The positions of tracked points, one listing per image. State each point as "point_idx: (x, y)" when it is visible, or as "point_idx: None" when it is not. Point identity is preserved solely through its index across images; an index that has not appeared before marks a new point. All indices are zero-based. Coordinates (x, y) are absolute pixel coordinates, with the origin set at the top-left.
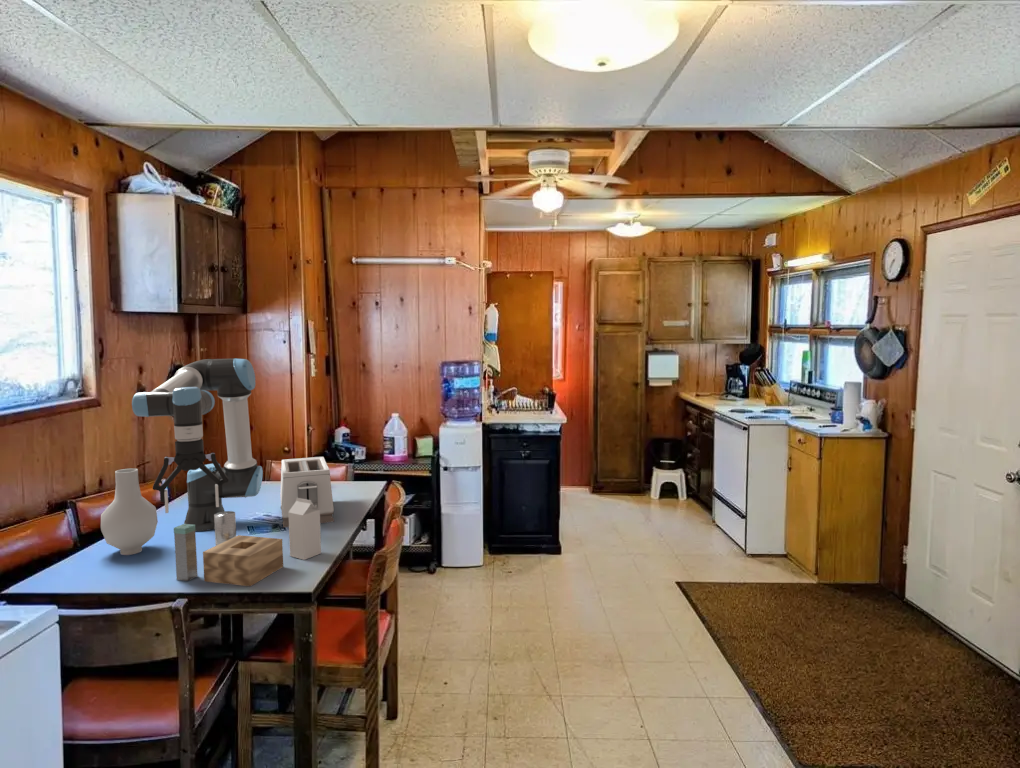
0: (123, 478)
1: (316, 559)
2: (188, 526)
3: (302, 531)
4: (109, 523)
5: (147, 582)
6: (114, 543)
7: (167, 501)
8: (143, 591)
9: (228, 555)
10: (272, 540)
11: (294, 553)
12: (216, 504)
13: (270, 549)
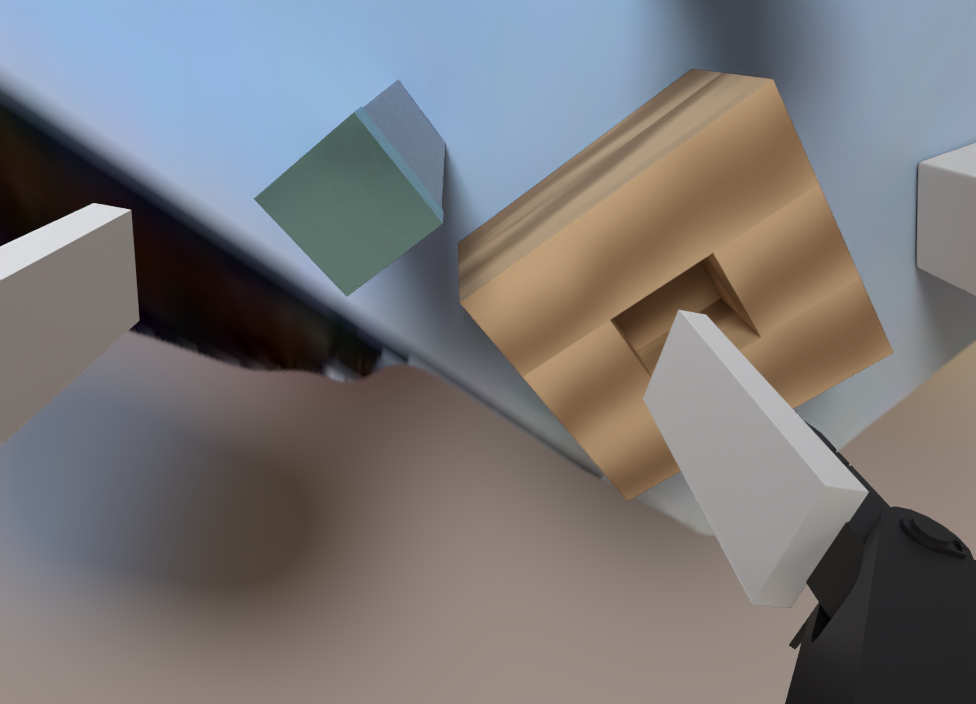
0: None
1: (954, 289)
2: (381, 241)
3: None
4: None
5: (193, 55)
6: None
7: (48, 400)
8: (184, 190)
9: (560, 419)
10: (842, 346)
11: (932, 205)
12: (654, 418)
13: None
